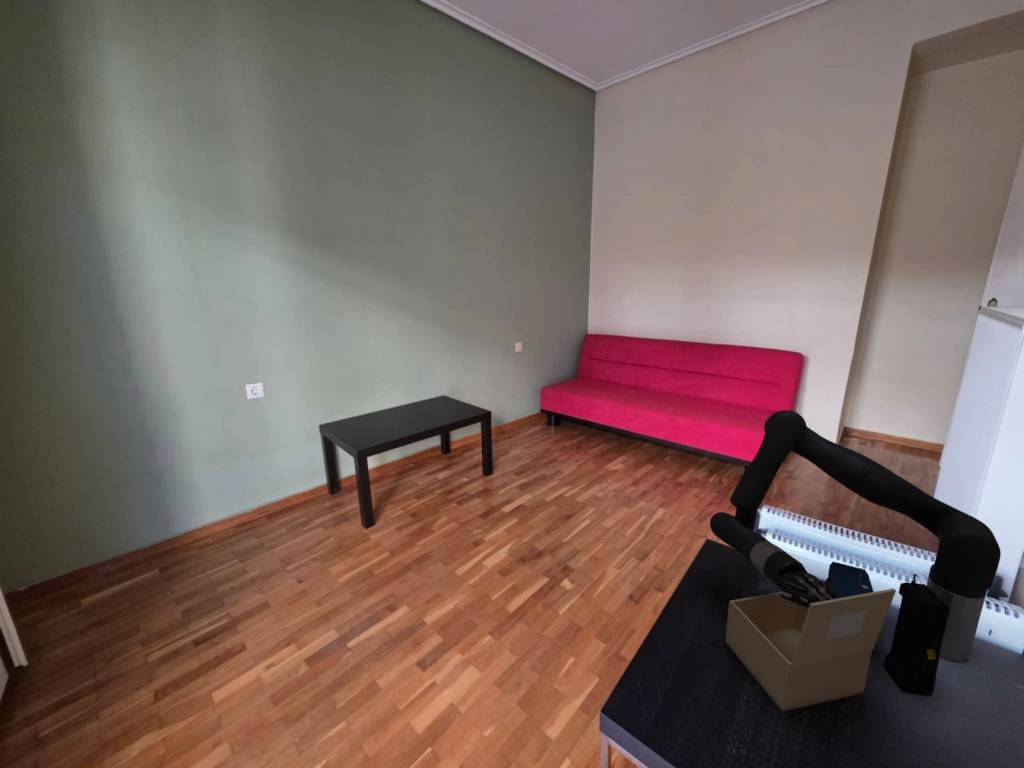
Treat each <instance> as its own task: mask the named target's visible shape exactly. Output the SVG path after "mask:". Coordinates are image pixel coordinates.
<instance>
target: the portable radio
mask: <svg viewBox="0 0 1024 768" xmlns="http://www.w3.org/2000/svg"><path fill="white" fill-rule="evenodd" d="M912 575H913V577H912V580H911V581H910V582H901V583H900V584H899V589H898V594H899V596H901V601H900V606H899V610H898V615H897V620H896V623H895V624H896V625H895V629H894V632H893V633H894V634H893V639H892V642H891V647H890V651H889V653H887V654H885V656H884V659H883V660H884V661H883V668H884V669H885V671H886V672H887V673H888V675H889V676H890V678H891V679H892V680H893V682H894V683H895V685H897V687H898V688H899V690H901V691H903V692H906V693H908V694H914V695H920V696H928V697H932V696H933V694H934V692H935V685H936V678H937V673H938V667H939V661H940V658H941V657H940V650H941V645H942V641H943V637H944V632H945V628H946V624H947V619H948V615H949V611H950V607H949V606H948V605H947V604H946V603H945V602H944V601H943V600H942V599H940V598H939V597H938V596H937V595H936V594H935V593H934V592H933V591H932V590H931V589H930V588H929V587H928V586H926V585H927V584H925V583H918V582H916V578H917V577H918V575H917V574H916V573H913V574H912Z"/></svg>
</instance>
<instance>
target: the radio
mask: <svg viewBox="0 0 1024 768" xmlns="http://www.w3.org/2000/svg"><path fill="white" fill-rule="evenodd" d="M827 573H828V575H827V579H831V580H833V583H834V586H835V590H836V593H837V597H836V599H838V598H843V597H849V596H855V595H860V594H866V593H871V592H875V591H874V589H873V585H872V583H871V582H872V581H871V579H870V575H869V573H868V571H866V569H864V568H860V567H856V566H852V565H848V564H846V563H845V564H844V563H841V562H837V561H832V562H831V563H830V564H829V568H828V572H827ZM876 644H877V643H876ZM876 644H875V646H874V649H873V650H872V653H871V656H872V655H873V654H874V652H875V650H876Z"/></svg>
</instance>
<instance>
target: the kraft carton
mask: <svg viewBox="0 0 1024 768" xmlns="http://www.w3.org/2000/svg"><path fill="white" fill-rule="evenodd" d="M780 595H781V591H777V592H774V593H767V594H760V595H756V596H755V595H754V596H749V597H743V598H739V599H737V598H736V599H732V600H729V602H728V608H727V609H728V610H727V619H726V621H727V622H726V630H725V631H726V632H725V640H724V642H725V643H726V645H728V647H729V648H730V649H731V651H732V652H733V653H734V655H736V657H737V658H738V659H739V661H740V662H741V664H742V665H744V667H745V668H746V669H747V670H748V671H749V673H750V674H751V675H752V677H753V678H754V679H755V680H756V681H757V683H759V684H760V687H762V688H763V690H764V691H765V692H766V693H767V695H768V696H769V697H770V698H771V700H772V701H773V702H774V703H775V704H776V706H777V707H778V708H779V709H780V711H781V712H782V713H783V712H787V711H792V710H796V709H801V708H805V707H810V706H813V705H814V706H815V705H818V704H819V705H820V704H823V703H827V701H828V702H832V701H836V699H837V700H840V698H841V699H845V698H844V697H846V698H849V697H854V696H859V695H863V694H864V692H865V687H866V683H867V677H868V671H869V669H870V668H869V667H870V662H871V657H872V655H871V653H872V650H869V651H864V652H859V653H854V654H849V655H845V656H840V657H835V658H830V659H825V660H820V661H816V662H811V663H806V664H801V665H796V666H793V664H792V661H793V658H794V655H795V652H796V648H797V645H798V642H799V638H800V635H801V632H802V628H803V625H804V622H805V619H806V615H807V612H808V609H809V608H807V607H804V606H801V605H799V604H796V603H794V602H791V601H789V600H786V599H783V598H782V597H781V596H780ZM800 599H801V600H802V601H804V600H803V599H802V598H800Z"/></svg>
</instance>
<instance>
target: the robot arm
mask: <svg viewBox="0 0 1024 768" xmlns="http://www.w3.org/2000/svg"><path fill="white" fill-rule="evenodd" d="M763 425H764V426H763V428H764V430H763V431H764V435H763V437H762V438H763V439H762V441H761V444H760V446H759V448H758V450H757V452H756V454H755V456H754V457H753V459H752V461H751V462H750V463H749V465H748V466H747V468H746V469H745V471H744V472H743V474H742V475H741V477H740V479H739V481H738V482H737V484H736V486H735V488H734V490H733V491H732V493H731V495H730V498H729V502H730V503H731V505H732V506H733V507H734V508H735V515H732V514H730V513H728V512H724V511H720V512H717V513H714V514H713V515H712V516H711V517H710V520H709V526H710V531H712V533H713V535H714V536H715V537H716V538H718V539H719V540H721V541H722V542H724V544H726V545H728V546H730V547H731V548H733V549H734V550H736V551H737V552H739V553H740V555H742V556H743V557H744V558H745V559H746V560H747V561H749V562H750V563H751V565H753V566H754V567H755V568H756V569H757V570H758V571H759V572H760V573H761V574H762V575H764V576H765V577H766V578H767V579H768V580H770V581H771V582H772V583H773V584H774V585H776V586H777V587H778V588H779V589H780V592H781V595H780V596H781V597H782V598H783V599H786V600H789V601H791V602H794V603H796V604H799V605H801V606H804V607H807V608H809V605H810V603H816V602H821V601H827V600H832V599H836V597H837V593H836V590H835V586H834V583H833V580H831V579H828V578H826V579H825V580H822V579H818V577H817V576H815V575H814V574H811V573H810V572H808V571H807V569H806V567H805V566H804V565H803V563H801V562H800V561H799V560H797V559H796V558H794V557H793V556H792V555H790V553H788V552H786V551H785V550H784V549H782V548H781V547H779V546H778V545H776V544H774V543H772V542H771V541H770V540H768V539H767V538H765V537H764V536H763V535H761V534H760V533H758V532H756V531H754V527H755V523H756V519H757V513H758V509H759V508H760V506H761V505H762V502H763V500H764V499H765V497H766V495H767V493H768V491H769V489H770V487H771V485H772V483H773V481H774V479H775V477H776V475H777V473H778V471H779V470H780V468H781V466H782V465H783V463H784V462H785V460H786V458H787V457H788V456H789V455H790V453H791V452H792V453H794V454H796V455H798V456H800V457H802V458H804V459H806V460H807V461H809V462H810V463H812V464H813V465H814V466H815V467H817V468H818V469H819V470H820V471H822V472H823V473H825V474H826V475H827V476H829V477H830V478H832V479H833V480H834V481H836V482H838V484H841V485H842V486H843V487H845V488H846V489H848V490H849V491H851V492H853V493H854V494H856V495H858V496H859V497H860V498H862V499H864V500H866V501H868V502H870V503H872V504H873V505H876V506H879V507H883V508H884V509H887V510H890V511H893V512H896V513H899V514H901V515H903V516H905V517H908V518H910V519H911V520H913V521H914V522H916V523H917V524H919V525H921V526H922V527H924V529H926V530H928V531H929V532H930V533H932V534H933V535H934V536H935V537H936V538H937V539H938V547H937V552H936V557H935V559H934V560H935V561H934V563H933V564H931V566H930V569H929V571H928V572H929V573H928V578H927V582H926V584H925V585H926V586H928V587H929V588H930V589H931V590H932V591H933V592H934V593H935V594H936V595H937V596H938V597H939V598H940V599H942V600H943V601H944V602H945V603H946V604H947V605H948V606H949V607H950V611H949V615H948V619H947V624H946V628H945V632H944V637H943V641H942V645H941V650H940V658H942V659H944V660H945V659H946V660H947V661H952V662H956V663H957V662H960V663H961V662H962V663H963V662H967V661H968V660H969V659H970V654H971V651H972V647H973V644H974V640H975V637H976V633H977V629H978V625H979V622H980V618H981V615H982V611H983V607H984V603H985V600H986V596H987V592H988V590H990V589H991V588H992V586H993V583H994V580H995V578H996V574H997V571H998V568H999V565H1000V561H1001V557H1002V556H1001V555H1002V553H1001V548H1000V546H999V543H998V541H997V539H996V537H995V534H994V532H993V531H992V530H991V528H990V527H989V526H987V525H986V524H985V522H983V521H982V520H979V519H978V518H976V517H974V516H972V515H970V514H968V513H966V512H964V511H961V510H960V509H958V508H956V507H953V506H952V505H949V504H948V503H945V502H943V501H941V500H939V499H937V498H936V497H933V496H931V495H930V494H928V493H927V492H925V491H924V490H922V489H920V488H919V487H918V486H916V485H914V484H913V483H911V482H910V481H909V480H907V479H905V478H903V477H901V476H900V475H898V474H896V473H895V472H893V471H892V470H890V469H888V468H887V467H885V466H883V465H882V464H880V463H878V462H877V461H875V460H873V459H872V458H869V457H868V456H865V455H863V454H862V453H860V452H857V451H855V450H853V449H852V448H851V449H850V448H848V447H846V446H843V445H841V444H838V443H835V442H833V441H831V440H829V439H827V438H825V437H823V436H822V435H820V434H818V432H816V431H814V430H813V429H811V428H809V427H808V426H807V422H806V421H805V418H804V417H803V416H802V415H801V414H800V413H798V412H797V411H793V410H788V409H783V410H782V409H781V410H778V411H775V412H774V413H772V414H770V415H769V416H768V418H767V419H766V420H765V422H764V424H763ZM800 598H802V599H803V600H804V601H802V600H801V599H800Z"/></svg>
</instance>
